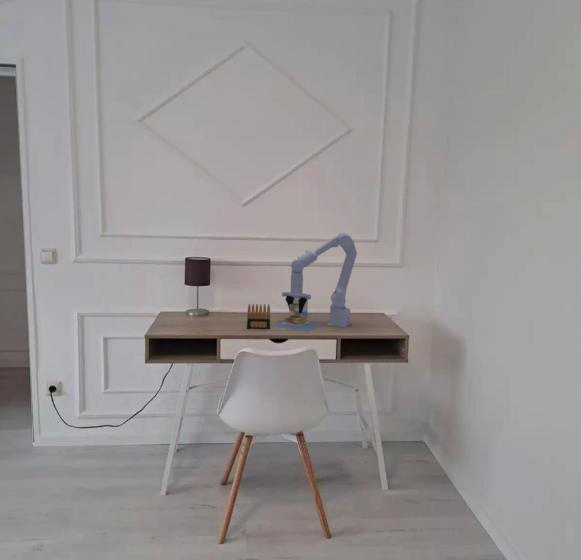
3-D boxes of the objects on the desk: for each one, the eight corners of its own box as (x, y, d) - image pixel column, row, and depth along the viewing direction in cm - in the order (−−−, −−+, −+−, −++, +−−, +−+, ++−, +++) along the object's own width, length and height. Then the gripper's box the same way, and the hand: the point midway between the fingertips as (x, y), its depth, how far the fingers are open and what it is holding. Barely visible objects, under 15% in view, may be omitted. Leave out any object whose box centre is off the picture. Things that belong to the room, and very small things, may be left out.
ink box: (307, 316, 268) (308, 288, 266) (300, 317, 265) (301, 289, 263) (297, 313, 275) (298, 286, 273) (290, 314, 272) (290, 286, 270)
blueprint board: (324, 325, 250) (324, 323, 250) (308, 332, 234) (308, 331, 234) (287, 320, 259) (287, 318, 258) (269, 327, 243) (269, 325, 243)
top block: (301, 314, 251) (302, 304, 251) (297, 315, 247) (298, 305, 247) (293, 313, 253) (293, 303, 253) (289, 314, 249) (289, 304, 249)
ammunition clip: (246, 329, 236) (247, 303, 235) (246, 328, 238) (247, 303, 236) (270, 330, 237) (270, 304, 235) (270, 329, 238) (270, 303, 237)
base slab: (306, 322, 253) (306, 316, 252) (299, 325, 246) (299, 319, 245) (291, 320, 256) (292, 314, 256) (284, 323, 249) (284, 317, 249)
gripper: (279, 284, 248) (278, 312, 250) (306, 287, 242) (305, 315, 243) (286, 282, 254) (285, 309, 256) (313, 285, 248) (312, 313, 250)
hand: (295, 312), depth 250 cm, fingers closed on top block, 4 cm apart
